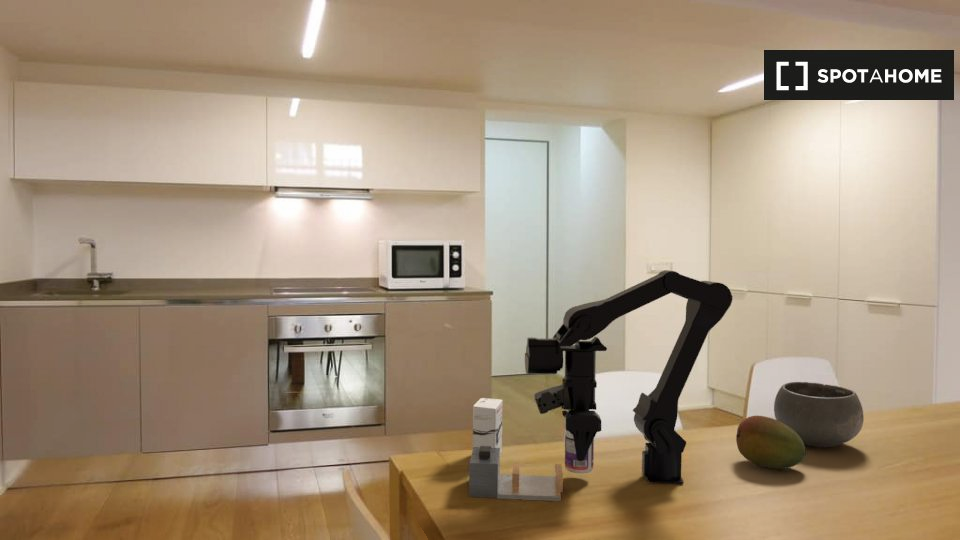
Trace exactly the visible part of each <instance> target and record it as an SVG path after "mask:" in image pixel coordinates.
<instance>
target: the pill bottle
mask: <svg viewBox="0 0 960 540" xmlns="http://www.w3.org/2000/svg"><path fill="white" fill-rule="evenodd" d="M594 439H595V438H594ZM594 439H593V441H592V443H591V445H590V448H589V450H588V452H587V454H586V456H585V458H584V460H583V461H578V460H577V455H576V450H575V444H574V438H573V435H572V434H571V433H570V432H569V431H567V430H566V429H565V432H564V469H565V470H566V471H568V472H570V473H572V474H573V473H575V474H588V473H591V472H592V471H593V470H594V453H595V451H594V450H595V449H594V444H595V440H594Z"/></svg>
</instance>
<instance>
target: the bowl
mask: <svg viewBox="0 0 960 540" xmlns="http://www.w3.org/2000/svg"><path fill="white" fill-rule="evenodd" d="M773 402H774V404H773V412H774V419H775V420H777V421H780V422H782V423H784V424H785V425H787V426H788V427H790V428H791V429H792V430H794V431H795V432H796V433H797V434H798V435H799V436H800V438H801V439H802V441H803V443H804V446H805V445H806V446H809V447H815V448H832V447H836V446H837V447H838V446H839V445H842V444H845V443H848V442H849V441H851V440H852V439H854V438H855V437H857V436H858V434H860V432H861V430H862V429H863V425H864V409H863V406H862V402H861V400H860V398H859V396H858V394H857V392H855V390H852V389H850V388H846V387H843V386H838V385H833V384H832V385H831V384H824V383H819V382H807V381H790V382H786V383H784V384H783V385H781V387H780V388H779V389H778V391H777V393H776V396H775V397H774V401H773Z"/></svg>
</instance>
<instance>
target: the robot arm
mask: <svg viewBox="0 0 960 540" xmlns="http://www.w3.org/2000/svg"><path fill="white" fill-rule="evenodd" d="M669 294H673V295H676V296H679V297H681V298H684V299H686V300H687V302H686V305H685V321H684V324H683V326H682V329H681V331H680V333H679V335H678V338H677V340H676V342H675V344H674V346H673V348H672V350H671V353H670V355H669V357H668V360H667V362H666V364H665V367H664V369H663V371H662V373H661V376H660V378H659V380H658V382H657V384H656V386H655V388H654V389H653V390H652V391H651V392H650V393H649V394H648V395H647V394H646V393H644V392H641V393H640V395H639V398H638V402H637V404H636V406H635V407H634V408H633V409H632V412H634V414H633V415H634V416H633V422H634V425H635V428H636V429H637V430H638V431H639V432H640V433H641V434H642V435H643V437H644V440H646V442H645V443H644V445H645V447H644V450H642V451H641V472H642V474H643V476H644V477H645V478H646V480H647V482H648V483H651V484H675V485H676V484H679V485H681V484H684V479H683V478H682V459H683V458H682V456H683V455H682V453H684V450H685V448H686V445H687V441H686V440H685V439H684V438H683V437H681V435H680V434H679V433H678V432H677V431H676V430H675V428H676V423H677V421H678V411H679V399H680V396H681V394H682V392H683V390H684V388H685V386H686V383H687V381H688V379H689V376H690V374H691V372H692V370H693V368H694V365H695V363H696V361H697V358H698V356H699V354H700V352H701V350H702V349H703V345H704V343H705V342H706V339H707V336H708V334H709V333H710V331H711V330H713V328H714V327H715V326H716V325H717V324H718V323H720V321H721V320H722V319H723V317H724V316H725V315H726V313H727V312H728V310H729V309H730V307H731V305H732V303H733V295H732V292H731V289H730V288H729V287H728V286H727V285H726V284H724V283H722V282H717V281H716V282H715V281H710V280H698V279H696V278H695V279H694V278H692V277H688V276H686V275H683V274H680V273H679V272H677V271H674V270H662V271H660V272H659V273H658V274H656V275H654V276H652V277H649V278H648V279H645V280H643V281H641V282H638V283H637V284H635V285H633V286H630V287H628V288H627V289H624V290H623V291H620V292H617V293H616V294H614V295H611V296H610V297H607V298H605V299H601V300H596V301H592V302H587V303H583V304H580V305H575V306H573V307H570V308H568V309H567V311H565V313H564V316H563V318H562V319H563V320H562V321H563V322H562V324H561V326H560V327H559V329H558V330H557V331H556V333H555V334H554V335H553V336H552V338H537V337H526V341H527V342H526V346H525V353H524V369H525V370H524V371H525V374H526V375H558V372H561V370H562V369H563V367H564V376H563V378H562V384H560V385H557V386H552V387H550V388H546V389H544V390H539V391H537V392H535V393H534V400H535V403H536V406H537V410H538V412H539V414H540V415H543V414H547V413H548V412H549V411H552V410H556V409H559V408H561V409H563V410H562V411H561V414H562V416H563V417H564V428H565V431H566V430H567V431H569V432H570V433H571V434H572V435H573V438H574V444H575V450H576V455H577V460H578V461H583V460H584V458H585V456H586V454H587V452H588V450H589V448H590V445H591V443H592V441H593V439H595V437H596V435H597V433H600V432H601V431H602V419H601V417H600V415H599V413H597V411H595V410H597V403H596V389H597V386H598V385H597V383H598V382H597V380H596V369H597V368H596V367H597V366H596V363H597V362H596V358H597V356H596V355H597V352H606V351H607V350H608V348H607V347H606V346H605V345H604V344H603V343H602V342H601V340H600V338H599V337H598V336H597V335H598V334H600V333H601V332H603V331H604V330H605V329H607V327H609V325H611V324H612V323H613V322H615V320H616V319H618V318H620V317H623V316H624V315H627V314H629V313H631V312H633V311H635V310H637V309H640V308H642V307H644V306H646V305H648V304H650V303H652V302H655V301H656V300H658V299H661V298H663V297H665V296H667V295H669Z"/></svg>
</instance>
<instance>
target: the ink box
mask: <svg viewBox="0 0 960 540" xmlns="http://www.w3.org/2000/svg"><path fill="white" fill-rule="evenodd" d="M480 446H491V448H500V456H501V455H502V453H503V451H502V450H503V399H499V398H498V399H497V398H486V397H480V398H479V400H478V401H477V402H475V403H474V404H473V407H472V448H473V447H480Z"/></svg>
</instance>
